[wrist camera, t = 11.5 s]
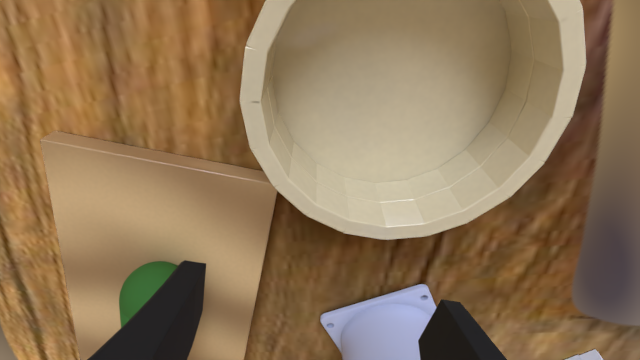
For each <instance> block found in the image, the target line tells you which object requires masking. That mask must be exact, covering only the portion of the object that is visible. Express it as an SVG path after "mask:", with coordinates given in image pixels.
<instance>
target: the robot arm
mask: <svg viewBox="0 0 640 360" xmlns="http://www.w3.org/2000/svg"><path fill="white" fill-rule="evenodd" d="M205 274H206V263H199V262H193V261H186V260H184V261H183V262H181V263H180V264H179V265H178V267H177V268H176V269H175V270H174V272H173V273H172V274H171V275H170V276H169V278H168V279H167V280H166V281H165V282H164V283H163V285H162V286H161V287H160V288H159V289H158V290H157V291H156V292H155V294H154V295H153V296H152V297H151V298H150V299H149V300H148V301H147V302H146V303H145V304H144V305H143V306H142V307H141V308H140V309H139V310H138V312H137V313H136V314H135V315H134V316H133V317H132V318H131V319H130V320H129V321H128V322H127V323H126V324H125V325H124V326H123V327H122V328H121V329H120V330H119V331H117V332H116V333H115V334H114V335H113V336H112V337H111V338H110V339H109V340H108V341H107V342H106V343H105V344H104V345H103V346H102V347H101V348H99V349H98V350H97V351H96V352H95V353H94V354H93V355H92V356H91V357H90V358H88V359H87V360H187V358H188V356H189V353H190V351H191V348H192V346H193V342H194V339H195V335H196V332H197V329H198V325H199V322H200V318H201V315H202V311H203V300H204V287H205ZM423 295H425V296H423ZM320 321H321V324H322V325H323V327H324V328H325V329H326V331H327V332H328V334H329V335H330V337H331V338H332V340H333V341H334V343H335V344H336V346H337V347H338V349H339V350H340V352H341V353H342V360H507V359H506V358H505V357H504V356H503V354H502V353H501V352H500V351H499V349H498V348H497V347H496V346H495V345H494V343H493V342H492V341H491V340H490V338H489V337H488V336H487V335H486V333H485V332H484V331H483V330H482V328H481V327H480V326H479V325H478V324H477V322H476V321H475V320H474V319H473V317H472V316H471V315H470V314H469V313H468V311H467V310H466V309H465V308H464V307H463V305H462V304H461V303H460V302H455V301H448V300H442V299H441V301H440V303H439V305H438V306H437V308H436V306H435V303H434V301H433V298H432V296H431V293H430V291H429V288H428V287H427V285H425V284H419V285H416V286H412V287H409V288H406V289H402V290H399V291H396V292H393V293H389V294H386V295H383V296H379V297H376V298H373V299H369V300H366V301H363V302H360V303H356V304H353V305H350V306H346V307H343V308H340V309H336V310H333V311H330V312H327V313H324V314H322V315H321V317H320Z"/></svg>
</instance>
